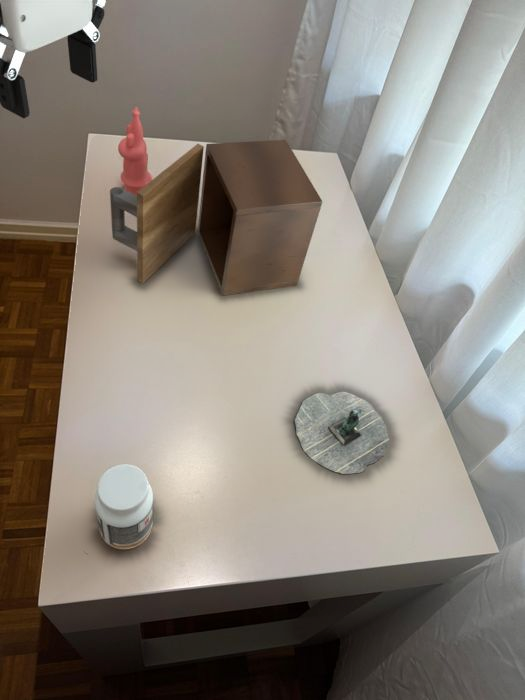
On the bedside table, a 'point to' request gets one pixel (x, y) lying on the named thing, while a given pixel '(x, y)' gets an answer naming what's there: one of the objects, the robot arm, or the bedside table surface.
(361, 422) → the sculpture
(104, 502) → the pill bottle
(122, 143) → the figurine
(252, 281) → the cabinet
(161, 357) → the bedside table surface
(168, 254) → the door
